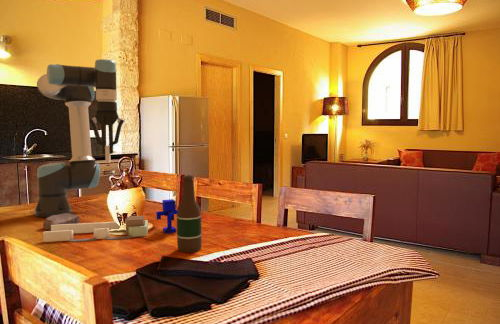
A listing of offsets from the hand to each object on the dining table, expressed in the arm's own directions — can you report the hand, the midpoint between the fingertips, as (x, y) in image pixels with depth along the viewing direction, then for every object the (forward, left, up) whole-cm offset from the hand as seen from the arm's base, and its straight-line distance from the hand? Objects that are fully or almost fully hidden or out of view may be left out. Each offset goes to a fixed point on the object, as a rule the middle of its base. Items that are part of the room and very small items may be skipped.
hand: (108, 162), depth 157 cm
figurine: (+11, +23, -26) cm, 37 cm away
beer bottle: (+35, +29, -26) cm, 53 cm away
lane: (+10, -3, -26) cm, 28 cm away
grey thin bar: (+17, -1, -26) cm, 31 cm away
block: (+11, +10, -26) cm, 30 cm away
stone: (-7, -19, -27) cm, 34 cm away
